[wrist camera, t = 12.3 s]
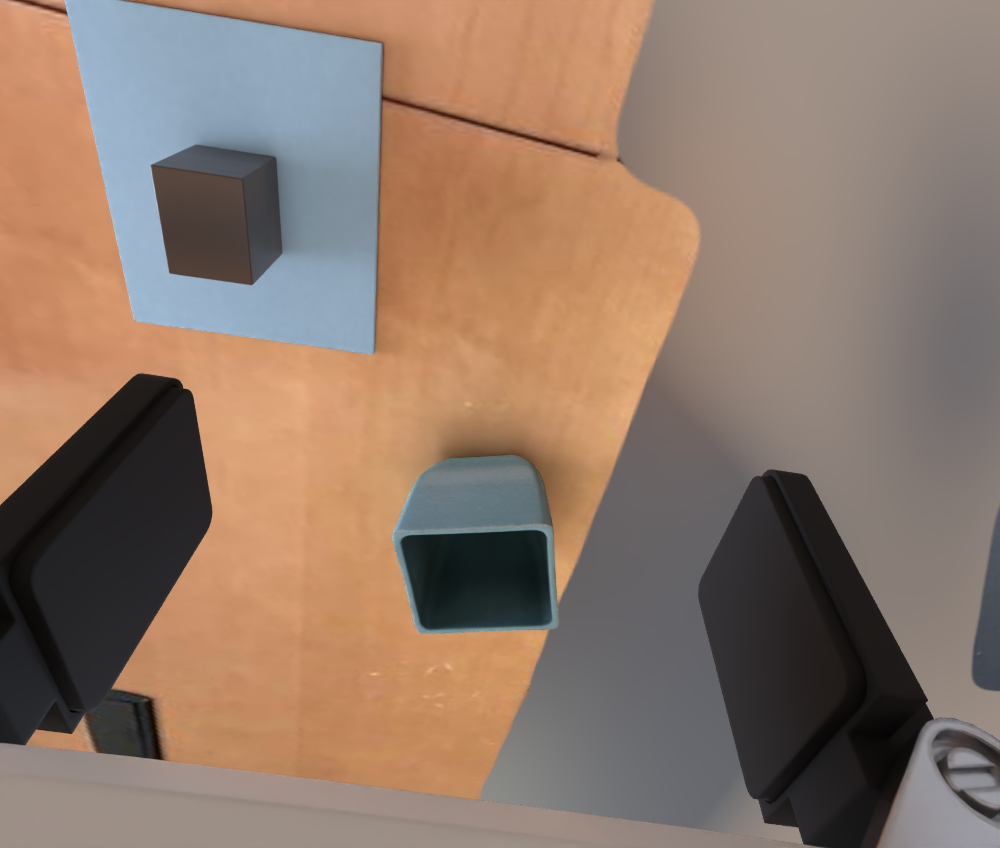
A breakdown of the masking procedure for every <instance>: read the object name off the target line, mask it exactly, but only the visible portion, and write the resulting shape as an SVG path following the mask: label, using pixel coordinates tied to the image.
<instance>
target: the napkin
mask: <svg viewBox="0 0 1000 848" xmlns="http://www.w3.org/2000/svg"><path fill="white" fill-rule="evenodd" d="M65 4H66V9H67V13H68V18H69V23H70V27H71V32H72V36H73V41H74V46H75V50H76V55H77V59H78V64H79V69H80V73H81V78H82V82H83V87H84V92H85V96H86V101H87V105H88V110H89V115H90V119H91V124H92V128H93V133H94V138H95V142H96V147H97V151H98V156H99V161H100V165H101V170H102V174H103V179H104V184H105V188H106V193H107V197H108V202H109V207H110V211H111V216H112V220H113V225H114V230H115V234H116V239H117V243H118V248H119V253H120V257H121V262H122V266H123V271H124V276H125V280H126V285H127V290H128V294H129V299H130V303H131V308H132V313H133V317H134V321H137V322H144V323H151V324H158V325H165V326H173V327H180V328H187V329H194V330H201V331H208V332H215V333H222V334H229V335H237V336H244V337H251V338H258V339H265V340H272V341H279V342H286V343H294V344H301V345H308V346H315V347H322V348H329V349H336V350H343V351H350V352H358V353H365V354H372V355H373V354H374V352H375V326H376V289H377V252H378V215H379V178H380V141H381V104H382V67H383V43H381V42H375V41H369V40H363V39H357V38H351V37H345V36H339V35H333V34H326V33H320V32H314V31H308V30H302V29H296V28H290V27H284V26H278V25H272V24H266V23H260V22H254V21H248V20H242V19H236V18H229V17H223V16H217V15H211V14H205V13H199V12H193V11H187V10H181V9H175V8H169V7H163V6H157V5H151V4H145V3H139V2H132V1H126V0H65ZM193 145H203V146H209V147H216V148H222V149H229V150H235V151H242V152H248V153H255V154H261V155H268V156H274V157H276V161H277V176H278V192H279V208H280V223H281V239H282V255H281V256H280V257H279V258H278V259H277V260H276V261H275V262H274V263H273V264H272V265H271V266H270V267H269V268H268V269H267V271H266V272H265V273H264V274H263V275H262V276H261V277H260V278H259V279H258V280H257V281H256V282H255V283H254V284H253V285H245V284H238V283H231V282H224V281H217V280H210V279H203V278H196V277H189V276H182V275H175V274H170V273H169V271H168V265H167V259H166V254H165V248H164V242H163V236H162V231H161V225H160V219H159V214H158V208H157V202H156V196H155V191H154V185H153V179H152V173H151V168H150V165H152V164H154V163H156V162H158V161H160V160H163V159H165V158H167V157H169V156H171V155H174V154H176V153H178V152H180V151H182V150H184V149H187V148H189V147H191V146H193Z"/></svg>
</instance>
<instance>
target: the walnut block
mask: <svg viewBox="0 0 1000 848" xmlns="http://www.w3.org/2000/svg"><path fill="white" fill-rule="evenodd" d="M150 168H151V173H152V179H153V185H154V191H155V196H156V202H157V208H158V214H159V219H160V225H161V231H162V236H163V242H164V248H165V254H166V259H167V265H168V271H169V273H170V274H175V275H182V276H189V277H196V278H203V279H210V280H217V281H224V282H231V283H238V284H245V285H253V284H254V283H255V282H256V281H257V280H258V279H259V278H260V277H261V276H262V275H263V274H264V273H265V272H266V271H267V269H268V268H269V267H270V266H271V265H272V264H273V263H274V262H275V261H276V260H277V259H278V258H279V257H280V256H281V255H282V239H281V223H280V208H279V192H278V176H277V161H276V157H274V156H268V155H261V154H255V153H248V152H242V151H235V150H229V149H222V148H216V147H209V146H203V145H193V146H191V147H189V148H187V149H184V150H182V151H180V152H178V153H176V154H174V155H171V156H169V157H167V158H165V159H163V160H160V161H158V162H156V163H154V164H152V165H150Z"/></svg>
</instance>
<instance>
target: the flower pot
mask: <svg viewBox="0 0 1000 848" xmlns="http://www.w3.org/2000/svg"><path fill="white" fill-rule="evenodd" d="M392 540H393V545H394V548H395V552H396V556H397V559H398V562H399V565H400V569H401V573H402V576H403V580H404V585H405V587H406V592H407V596H408V600H409V605H410V608H411V612H412V616H413V621H414V625H415V627H416V629H417V630H418V632H419V633H421V634H446V633H464V632H490V631H513V630H547V629H553V628H556V627H558V625H559V615H558V603H557V590H556V573H555V554H554V531H553V525H552V519H551V514H550V510H549V505H548V500H547V496H546V491H545V487H544V483H543V480H542V477H541V475H540V474H539V472H538V470H537V469H536V468H535V466H534V465H533V464H532V463H530V462H529V461H528V460H526V459H524V458H522V457H520V456H518V455H498V456H482V457H461V458H449V459H446V460H444V461H441V462H439V463H437V464H435V465H433V466H432V467H430V468H429V469H427V470H426V471H425V472H424V473H423V474H422V475H421V476H420V477H419V478H418V479H417V481H416V482H415V484H414V485H413V487H412V490H411V492H410V494H409V496H408V498H407V501H406V503H405V505H404V507H403V510H402V512H401V515H400V517H399V520H398V522H397V524H396V527H395V529H394V531H393V534H392Z"/></svg>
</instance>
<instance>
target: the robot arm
mask: <svg viewBox="0 0 1000 848" xmlns="http://www.w3.org/2000/svg"><path fill="white" fill-rule="evenodd" d="M211 519H212V504H211V498H210V493H209V487H208V481H207V475H206V469H205V463H204V457H203V451H202V445H201V440H200V434H199V428H198V422H197V416H196V410H195V404H194V398H193V395H192V393H191V391H190V390H188V389H183V385H182V383H181V382H180V381H179V380H178V379H176V378H169V377H163V376H156V375H149V374H143V373H142V374H137V375H135V376H134V377H133V378H132V379H131V380H130V381H128V382H127V383H126V384H125V385H124V386H123V387H122V388H121V389H120V390H119V391H118V392H117V393H116V394H115V395H114V396H113V397H112V398H111V399H110V400H109V401H108V402H107V403H106V404H105V405H104V406H103V407H102V408H101V409H100V410H98V411H97V412H96V413H95V414H94V415H93V416H92V417H91V418H90V419H89V420H88V421H87V422H86V423H85V424H84V425H83V426H82V427H81V428H80V429H79V430H78V431H77V432H76V433H75V434H74V435H73V436H72V437H71V438H70V439H68V440H67V441H66V442H65V443H64V444H63V445H62V446H61V447H60V448H59V449H58V450H57V451H56V452H55V453H54V454H53V455H52V456H51V457H50V458H49V459H48V460H47V461H46V462H45V463H44V464H43V465H42V466H41V467H39V468H38V469H37V470H36V471H35V472H34V473H33V474H32V475H31V476H30V477H29V478H28V479H27V480H26V481H25V482H24V483H23V484H22V485H21V486H20V487H19V488H18V489H17V490H16V491H15V492H14V493H13V494H12V495H11V496H9V497H8V498H7V499H6V500H5V501H4V502H3V503H2V504H1V505H0V848H1000V741H999V740H998V739H996V738H995V737H994V736H993V735H991V734H989V733H987V732H986V731H984V730H982V729H980V728H978V727H976V726H975V725H973V724H970V723H967V722H964V721H961V720H958V719H954V718H937V719H934V718H933V716H932V714H931V712H930V711H929V709H928V707H927V705H926V702H927V701H928V699H927V698H926V696H925V694H924V692H923V690H922V688H921V686H920V684H919V683H918V681H917V679H916V677H915V675H914V673H913V672H912V670H911V668H910V666H909V664H908V662H907V660H906V658H905V657H904V655H903V653H902V651H901V649H900V647H899V645H898V643H897V642H896V640H895V638H894V636H893V634H892V632H891V630H890V629H889V627H888V625H887V623H886V621H885V619H884V617H883V616H882V614H881V612H880V610H879V608H878V606H877V604H876V603H875V601H874V599H873V597H872V595H871V593H870V591H869V590H868V588H867V586H866V584H865V582H864V580H863V578H862V577H861V575H860V573H859V571H858V569H857V567H856V565H855V563H854V562H853V560H852V558H851V556H850V554H849V553H848V550H847V549H846V547H845V545H844V543H843V541H842V539H841V537H840V536H839V534H838V532H837V530H836V528H835V526H834V524H833V523H832V521H831V519H830V517H829V515H828V513H827V511H826V509H825V508H824V506H823V504H822V502H821V500H820V498H819V496H818V495H817V493H816V491H815V489H814V487H813V485H812V483H811V482H810V480H809V479H808V477H807V476H805V475H803V474H798V473H791V472H785V471H778V470H767V471H766V472H765V473H764V474H763V475H762V477H761V476H756V477H754V478H753V479H752V481H751V482H750V484H749V486H748V488H747V490H746V492H745V494H744V496H743V498H742V500H741V502H740V504H739V505H738V508H737V510H736V511H735V513H734V515H733V517H732V519H731V521H730V523H729V525H728V527H727V529H726V531H725V533H724V535H723V537H722V539H721V541H720V543H719V545H718V547H717V549H716V551H715V553H714V555H713V557H712V559H711V560H710V562H709V565H708V566H707V568H706V570H705V572H704V574H703V576H702V578H701V581H700V584H699V592H698V596H699V603H700V607H701V610H702V615H703V618H704V623H705V627H706V630H707V634H708V638H709V642H710V646H711V650H712V654H713V658H714V662H715V665H716V670H717V674H718V678H719V682H720V686H721V690H722V694H723V697H724V701H725V705H726V709H727V713H728V717H729V721H730V725H731V729H732V732H733V737H734V740H735V744H736V748H737V752H738V756H739V761H740V764H741V768H742V772H743V776H744V780H745V784H746V787H747V790H748V792H749V794H750V796H751V797H753V799H758V800H759V804H760V807H761V811H762V815H763V819H764V823H768V824H776V825H783V826H792V827H798V828H799V831H800V834H801V838H802V841H803V844H804V845H803V844H796V843H790V842H783V841H776V840H770V839H763V838H757V837H750V836H744V835H737V834H730V833H724V832H717V831H709V830H701V829H694V828H687V827H679V826H672V825H664V824H656V823H649V822H641V821H634V820H627V819H619V818H612V817H604V816H596V815H589V814H582V813H574V812H567V811H559V810H552V809H544V808H536V807H528V806H521V805H513V804H505V803H498V802H490V801H482V800H474V799H466V798H459V797H451V796H443V795H435V794H427V793H420V792H412V791H404V790H396V789H388V788H380V787H372V786H364V785H357V784H349V783H341V782H333V781H325V780H317V779H309V778H301V777H293V776H285V775H276V774H268V773H260V772H252V771H244V770H236V769H228V768H219V767H211V766H203V765H195V764H187V763H179V762H170V761H162V760H154V759H146V758H138V757H130V756H120V755H111V754H101V753H92V752H82V751H73V750H63V749H54V748H44V747H35V746H25V745H26V743H27V742H28V740H29V739H30V737H31V736H32V734H33V733H34V732H35V730H36V729H37V730H45V731H53V732H61V733H68V734H72V733H73V732H74V730H75V728H76V727H77V725H78V724H79V722H80V720H81V719H82V717H83V716H84V714H85V712H93V711H95V710H96V709H97V708H98V707H99V706H100V705H101V704H102V702H103V701H104V699H105V698H106V696H107V695H108V693H109V691H110V690H111V688H112V686H113V685H114V683H115V681H116V680H117V678H118V676H119V675H120V673H121V672H122V670H123V668H124V667H125V665H126V663H127V662H128V660H129V658H130V657H131V655H132V654H133V652H134V650H135V649H136V647H137V645H138V644H139V642H140V640H141V639H142V637H143V635H144V634H145V632H146V631H147V629H148V627H149V626H150V624H151V622H152V621H153V619H154V617H155V616H156V614H157V613H158V611H159V609H160V608H161V606H162V604H163V603H164V601H165V599H166V598H167V596H168V594H169V593H170V591H171V590H172V588H173V586H174V585H175V583H176V581H177V580H178V578H179V576H180V575H181V573H182V572H183V570H184V568H185V567H186V565H187V563H188V562H189V560H190V558H191V557H192V555H193V553H194V552H195V550H196V549H197V547H198V545H199V544H200V542H201V540H202V539H203V537H204V535H205V534H206V532H207V530H208V528H209V526H210V523H211Z"/></svg>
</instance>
